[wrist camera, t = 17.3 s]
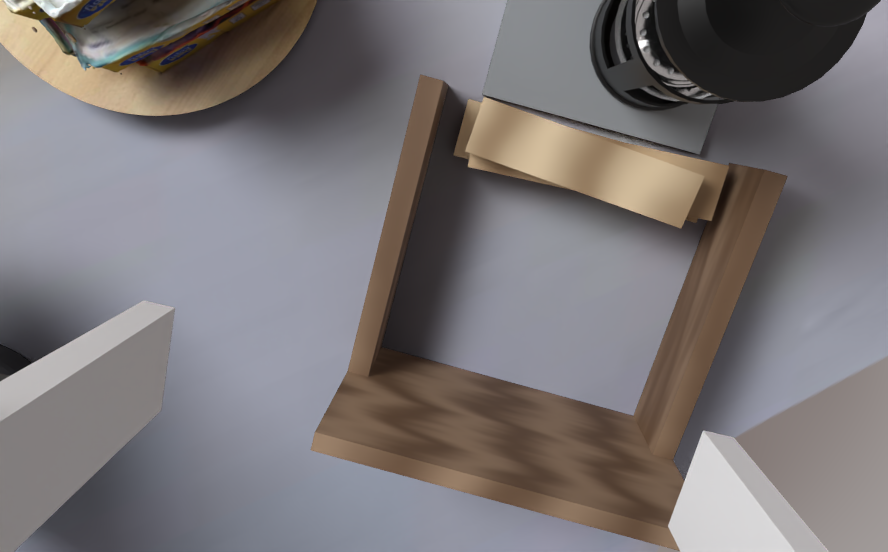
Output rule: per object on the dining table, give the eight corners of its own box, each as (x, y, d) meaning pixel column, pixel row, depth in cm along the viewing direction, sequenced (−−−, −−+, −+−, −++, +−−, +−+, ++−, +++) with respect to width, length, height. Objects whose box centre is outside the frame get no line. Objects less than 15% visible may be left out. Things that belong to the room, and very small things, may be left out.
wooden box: (359, 355, 51) (310, 450, 37) (428, 79, 46) (402, 62, 31) (646, 433, 51) (710, 559, 37) (749, 168, 46) (872, 192, 31)
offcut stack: (453, 158, 47) (448, 164, 41) (470, 94, 46) (468, 92, 40) (688, 223, 47) (716, 239, 42) (711, 162, 46) (744, 169, 40)
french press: (762, 56, 43) (1058, -8, 21) (647, 146, 45) (806, 174, 23) (661, -89, 41) (866, -328, 19) (546, 10, 43) (611, -103, 21)
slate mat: (482, 94, 46) (482, 94, 45) (535, -101, 42) (536, -105, 42) (695, 153, 46) (699, 154, 45) (765, -37, 43) (770, -40, 42)
